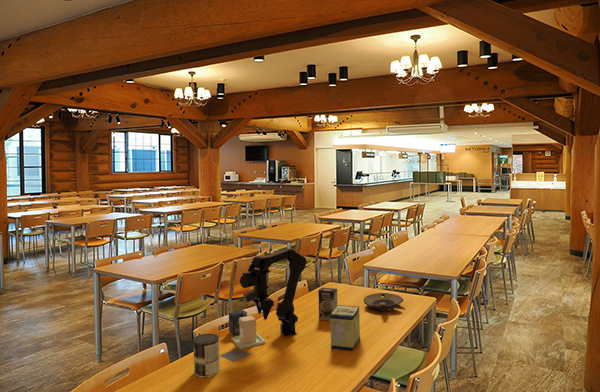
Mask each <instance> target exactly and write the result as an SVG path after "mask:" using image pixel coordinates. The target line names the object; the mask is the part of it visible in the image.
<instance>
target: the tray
mask: <svg viewBox="0 0 600 392" xmlns="http://www.w3.org/2000/svg"><path fill="white" fill-rule="evenodd" d="M231 341H232V342H233V343H234V344H235V345H236V346H237V347H238V349H240V350H243V349H246V348H251V347H255V346H260V345H265V344H266V340H265V339H264V338H263V337H261V336H260V335H259V334H258V333H257V332H256V342H254V343H250V344H245V345H244V344H243V343H242V342H241V341H240V335H235V336H232V337H231Z"/></svg>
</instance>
